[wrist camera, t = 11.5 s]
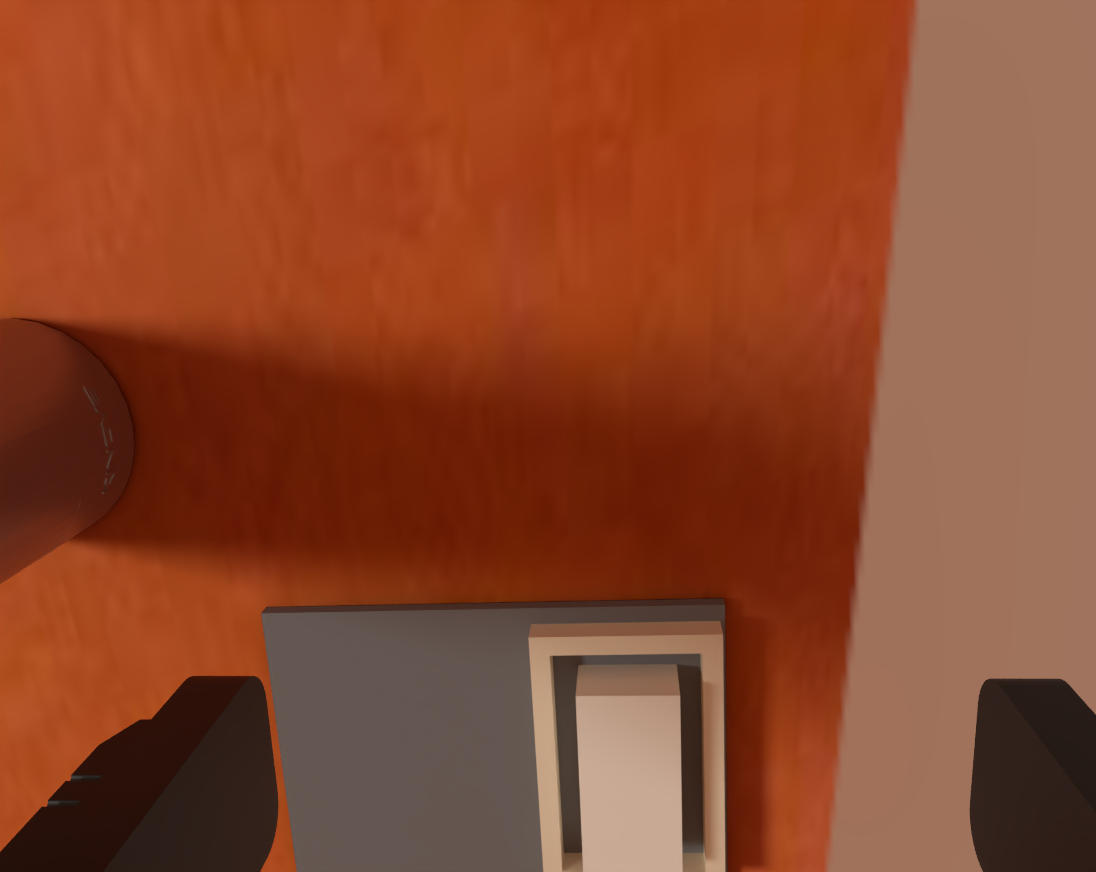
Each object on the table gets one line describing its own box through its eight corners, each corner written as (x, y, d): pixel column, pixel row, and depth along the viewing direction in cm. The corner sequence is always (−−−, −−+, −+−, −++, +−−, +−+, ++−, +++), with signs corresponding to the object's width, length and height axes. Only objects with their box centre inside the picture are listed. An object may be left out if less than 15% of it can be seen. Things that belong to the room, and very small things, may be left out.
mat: (312, 945, 45) (300, 976, 44) (266, 607, 41) (250, 626, 39) (726, 950, 44) (731, 981, 42) (723, 598, 39) (727, 617, 38)
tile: (578, 664, 40) (575, 695, 38) (676, 664, 40) (680, 695, 37) (585, 833, 42) (583, 873, 40) (679, 834, 42) (682, 874, 39)
